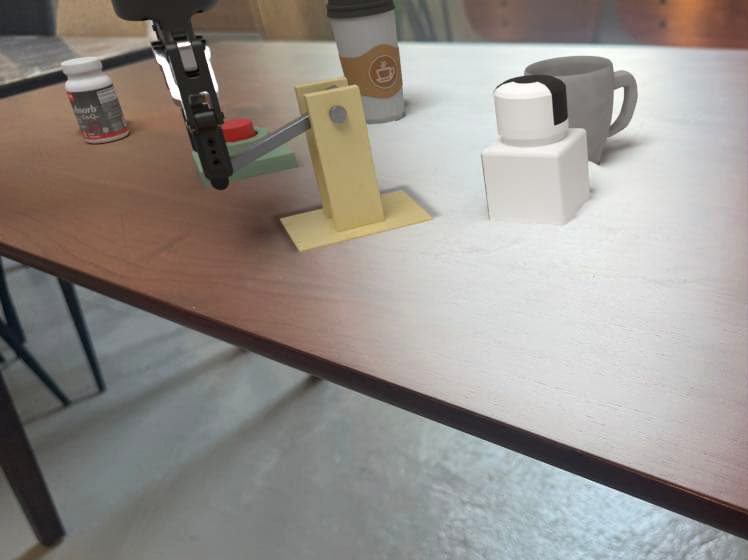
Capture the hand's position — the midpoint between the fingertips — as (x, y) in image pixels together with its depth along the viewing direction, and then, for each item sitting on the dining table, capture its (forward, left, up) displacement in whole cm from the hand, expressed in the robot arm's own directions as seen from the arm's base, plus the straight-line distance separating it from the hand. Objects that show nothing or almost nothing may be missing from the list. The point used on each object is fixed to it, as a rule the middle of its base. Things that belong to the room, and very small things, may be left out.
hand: (213, 163), depth 71 cm
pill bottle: (-10, +55, -9) cm, 56 cm away
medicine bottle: (+25, -8, -9) cm, 28 cm away
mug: (+36, +4, -9) cm, 38 cm away
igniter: (+4, +26, -9) cm, 28 cm away
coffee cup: (+23, +37, -9) cm, 45 cm away
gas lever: (+6, 0, 0) cm, 6 cm away
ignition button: (+4, +26, -5) cm, 27 cm away
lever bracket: (+10, 0, -9) cm, 13 cm away
